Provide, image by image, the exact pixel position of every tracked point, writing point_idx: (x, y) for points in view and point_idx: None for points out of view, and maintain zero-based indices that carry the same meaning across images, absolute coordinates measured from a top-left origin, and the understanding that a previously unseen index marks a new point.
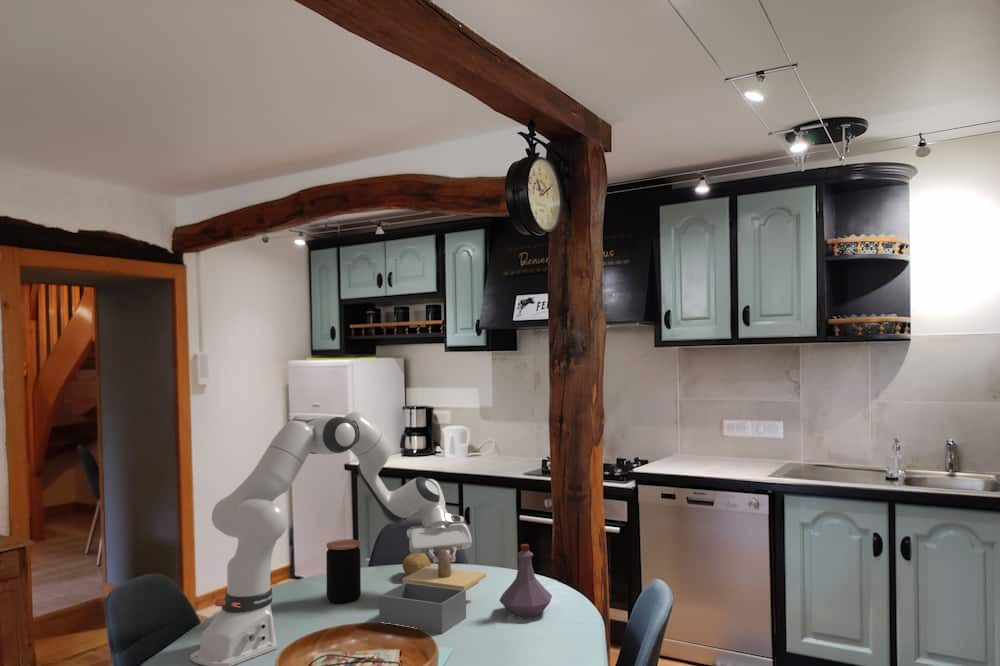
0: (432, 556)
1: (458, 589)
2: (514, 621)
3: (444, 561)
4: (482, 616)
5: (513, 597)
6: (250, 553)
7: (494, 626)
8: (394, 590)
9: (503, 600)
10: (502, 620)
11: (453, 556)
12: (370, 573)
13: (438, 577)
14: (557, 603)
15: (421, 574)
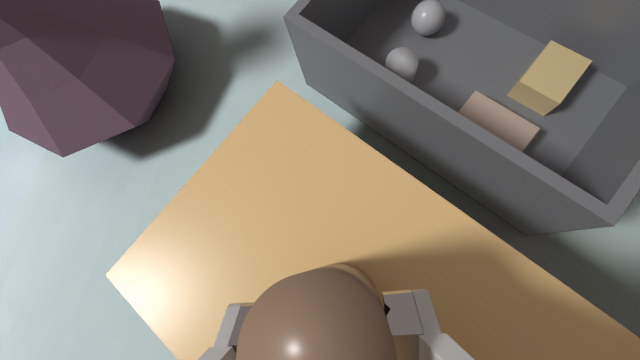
0: (454, 349)
1: (313, 31)
2: (181, 29)
3: (335, 267)
4: (254, 86)
5: (129, 2)
6: None
7: (245, 3)
8: None
9: (164, 40)
10: (209, 42)
11: (235, 321)
12: None
13: (382, 280)
14: (10, 146)
15: None
